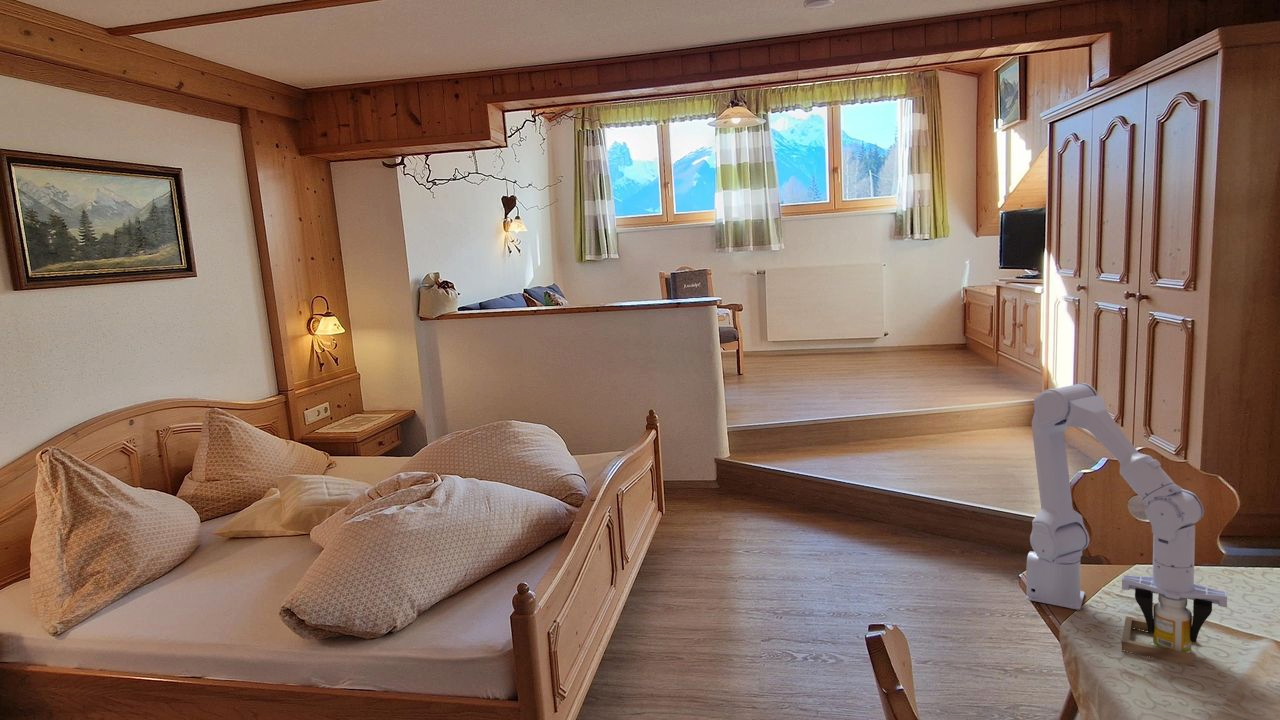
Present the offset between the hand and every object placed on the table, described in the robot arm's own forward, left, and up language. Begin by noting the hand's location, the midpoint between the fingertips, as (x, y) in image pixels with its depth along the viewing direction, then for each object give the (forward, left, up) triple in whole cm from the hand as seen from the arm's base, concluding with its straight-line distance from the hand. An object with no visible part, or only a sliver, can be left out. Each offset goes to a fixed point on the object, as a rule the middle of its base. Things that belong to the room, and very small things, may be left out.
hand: (1171, 634), depth 125 cm
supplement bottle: (0, 0, -3) cm, 3 cm away
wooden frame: (-2, 0, -2) cm, 3 cm away
